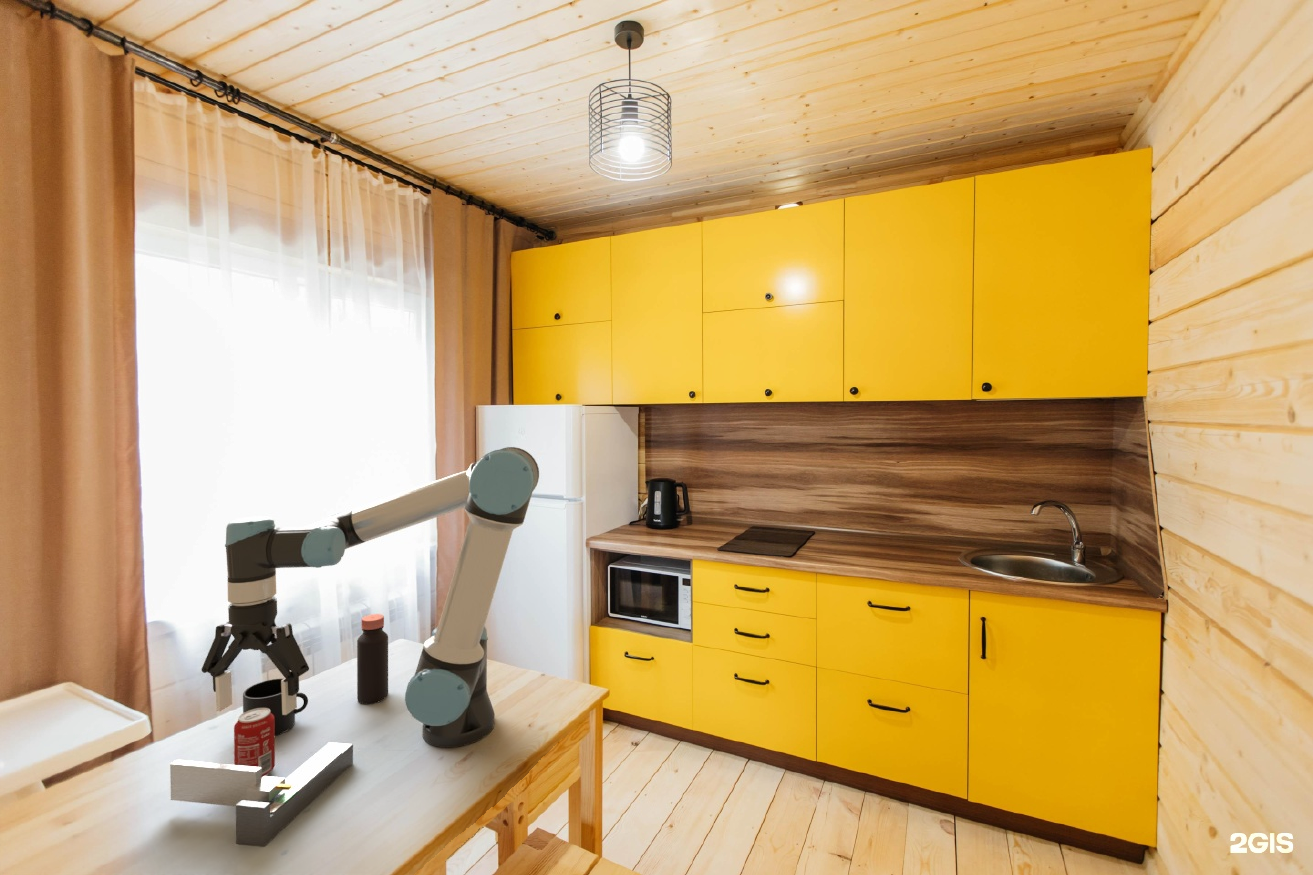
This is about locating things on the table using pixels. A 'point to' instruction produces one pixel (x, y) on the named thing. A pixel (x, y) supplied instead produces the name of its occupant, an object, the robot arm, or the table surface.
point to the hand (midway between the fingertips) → (256, 709)
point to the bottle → (372, 661)
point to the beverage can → (255, 740)
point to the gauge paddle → (222, 783)
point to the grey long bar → (291, 796)
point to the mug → (271, 703)
